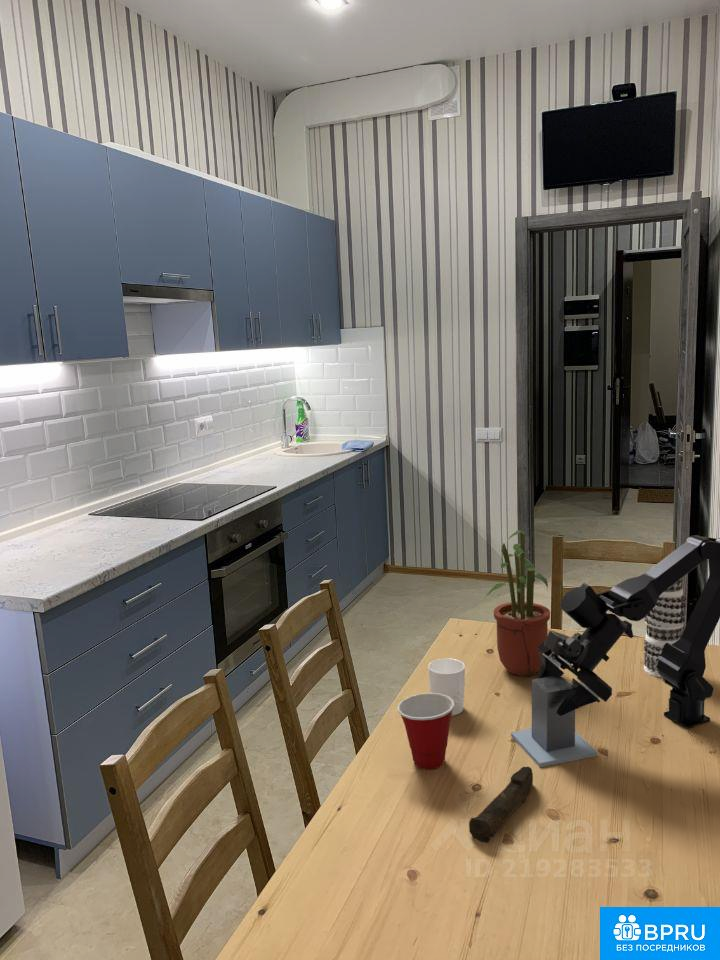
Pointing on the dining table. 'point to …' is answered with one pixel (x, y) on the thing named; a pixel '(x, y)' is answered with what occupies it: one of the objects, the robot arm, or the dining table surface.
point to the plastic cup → (427, 727)
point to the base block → (554, 756)
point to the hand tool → (502, 805)
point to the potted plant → (520, 616)
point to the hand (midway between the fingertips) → (545, 703)
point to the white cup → (448, 680)
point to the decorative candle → (663, 625)
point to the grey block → (551, 714)
